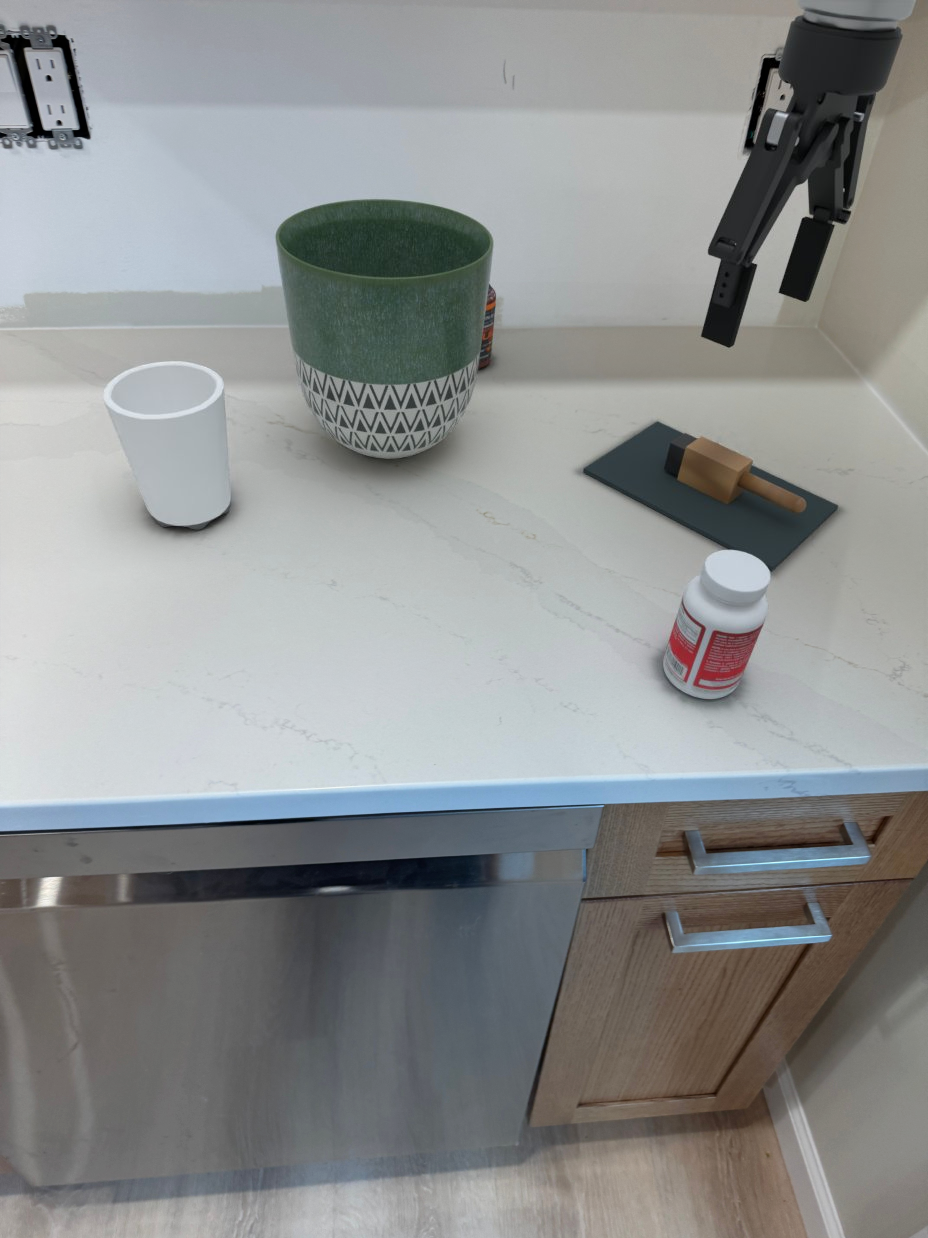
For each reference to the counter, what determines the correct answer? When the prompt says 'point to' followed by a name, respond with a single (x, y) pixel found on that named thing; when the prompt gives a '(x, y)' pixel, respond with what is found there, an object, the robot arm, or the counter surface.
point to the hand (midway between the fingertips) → (757, 317)
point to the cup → (174, 439)
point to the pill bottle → (718, 625)
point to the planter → (385, 318)
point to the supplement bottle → (488, 329)
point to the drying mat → (709, 499)
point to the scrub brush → (722, 473)
